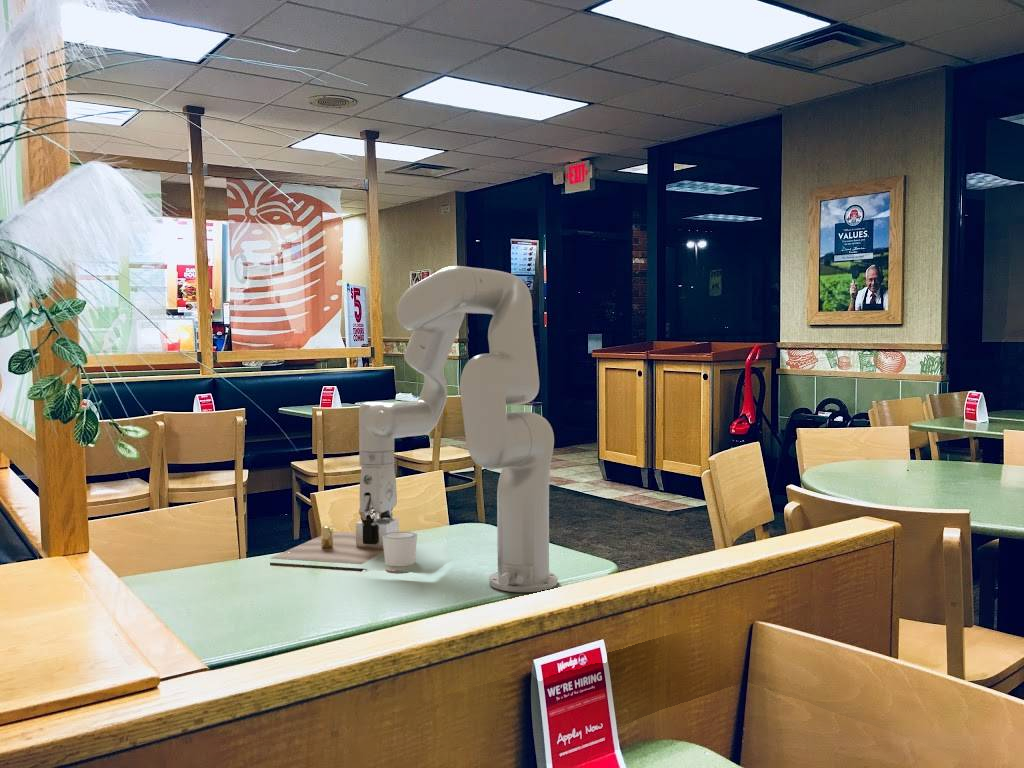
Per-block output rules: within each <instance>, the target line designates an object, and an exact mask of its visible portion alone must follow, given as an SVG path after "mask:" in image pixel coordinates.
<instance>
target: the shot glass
mask: <svg viewBox="0 0 1024 768" xmlns="http://www.w3.org/2000/svg"><path fill="white" fill-rule="evenodd" d="M382 538H383V547H384V551H383V556H384V564H385V565H387V566H390V567H405V566H406V567H407V566H411V565H414V564H415V563H416V552H417V540H418V534H417V533H416V532H412V531H399V532H391V533H387V534H384V535H383V536H382ZM385 572H386V573H389V574H395V575H397V574H398V575H400V574H401V575H402V574H409V573H410V571H409V570H408V571H404V570H391V569H389V570H388V569H385Z"/></svg>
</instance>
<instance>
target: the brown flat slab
mask: <svg viewBox="0 0 1024 768" xmlns="http://www.w3.org/2000/svg"><path fill="white" fill-rule="evenodd" d="M288 552H290V553H288ZM381 553H384V548H376V547H359V546H356V532H349V531H348V532H346V531H345V532H344V531H333V548H330V549H322V548H321V535H319V536H318V537H315V538H313V539H310V540H307V541H306V542H303V543H301V544H299V545H297V546H294V547H292V548H289V549H288V550H285V551H283V552H281V553H279V554H275V555H274V556H271V557H270V559H273V560H274V559H276V560H288V561H289V560H290V561H305V562H307V561H308V562H320V563H321V562H323V563H335V564H336V563H338V564H353V565H354V564H356V565H362V564H364V563H365V562H368V561H369V560H371V559H372V558H374V557H376V556H378V555H380V554H381ZM269 566H273V567H289V568H301V569H302V568H305V569H317V570H331V571H332V570H333V571H335V570H336V571H348V572H349V571H350V572H363V571H365V568H361V567H360V568H358V567H346V566H345V567H344V566H343V567H342V566H329V565H328V566H327V565H316V564H315V565H312V564H297V563H285V562H284V563H281V562H269Z"/></svg>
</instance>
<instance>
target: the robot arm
mask: <svg viewBox="0 0 1024 768" xmlns="http://www.w3.org/2000/svg"><path fill="white" fill-rule="evenodd" d="M466 314H483V315H484V314H486V315H492V317H491V319H490V321H489V326H488V331H487V340H488V349H489V353H480V354H477V355H475V356H473V357H472V358H470V359H469V360H468V361H467V362H466V363H465V365H464V367H463V370H462V373H461V375H460V383H459V391H460V392H459V393H460V401H461V410H462V411H461V412H462V420H463V426H464V427H463V428H464V435H465V436H464V437H465V442H466V443H465V444H466V448H467V451H468V455H469V456H470V458H471V459H472V460H473V462H474V463H475V464H476V465H478V466H479V467H480V468H482V469H487V470H496V469H501V471H500V475H499V478H498V482H497V493H496V495H497V499H496V502H497V503H496V507H497V509H496V510H497V511H496V512H497V513H496V518H497V520H496V521H497V522H496V523H497V528H496V529H497V543H496V544H497V572H494V573H492V574H491V575H490V576H489V578H488V579H489V581H488V582H489V585H490V586H491V587H492V588H494V589H496V590H499V591H504V592H510V593H538V592H543V591H542V590H544V591H547V589H548V590H550V589H553V588H555V587H556V586H557V584H558V576H557V575H556V574H555V573H554V572H552V571H550V474H551V466H552V465H551V464H552V459H553V453H554V446H555V435H554V431H553V427H552V426H551V423H549V421H548V420H547V419H546V418H545V417H543V416H542V415H541V414H538V413H536V412H529V411H517V412H507V407H508V406H510V407H511V406H519V405H525V404H528V403H530V402H533V400H535V398H536V397H537V395H538V394H539V391H540V375H539V366H538V360H537V359H538V358H537V357H538V356H537V349H536V341H535V336H534V327H533V300H532V295H531V292H530V289H529V287H528V285H527V284H526V283H525V281H524V280H523V279H521V278H520V277H519V276H517V275H514V274H512V273H509V272H507V271H506V272H505V271H501V270H496V269H489V268H481V267H471V266H463V265H452V266H451V265H450V266H446V267H444V268H441V269H440V270H438V271H436V272H434V273H432V274H431V275H429V276H427V277H425V278H424V279H421V280H420V281H418V282H416V283H414V284H413V285H411V286H410V287H409V288H407V289H406V290H405V291H404V292H403V294H402V295H401V296H400V298H399V300H398V302H397V305H396V318H397V321H398V324H399V325H400V326H401V327H403V329H404V330H405V329H406V330H407V331H412V332H411V335H410V338H409V339H408V340H409V341H407V345H406V347H405V350H404V353H403V358H404V361H405V363H407V365H408V366H409V367H411V368H412V369H413V370H415V371H417V372H418V373H419V374H422V375H423V379H424V380H423V386H422V388H421V389H422V390H421V391H420V394H419V397H418V399H417V400H409V401H394V402H388V401H367V402H363V403H361V404H360V406H359V409H358V420H359V421H358V429H359V430H358V435H359V436H358V442H359V443H358V448H359V454H358V455H359V458H358V459H359V467H361V468H360V476H359V477H360V478H359V479H360V480H359V510H358V513H359V516H360V521H362V526H363V544H373V545H376V544H377V543H378V527H377V525H376V520H377V517H380V518H393V516H394V515H393V509H394V508H395V507H396V506H397V504H398V496H397V494H398V493H397V477H396V470H395V439H400V438H401V439H402V438H407V437H418V436H425V435H427V434H429V433H431V432H432V431H433V430H434V429H435V427H436V426H437V424H438V422H439V420H440V418H441V416H442V414H443V411H444V409H445V407H446V404H447V400H448V385H447V384H448V383H447V379H446V375H445V372H444V367H445V365H446V362H447V359H448V357H449V355H450V353H451V349H452V347H453V345H454V343H455V340H456V338H457V335H458V333H459V331H460V328H461V326H462V324H463V322H464V319H465V315H466ZM371 517H372V518H371Z"/></svg>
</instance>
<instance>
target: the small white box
mask: <svg viewBox="0 0 1024 768" xmlns="http://www.w3.org/2000/svg"><path fill="white" fill-rule="evenodd" d="M372 517H373V516H371V518H372ZM376 525H377V527H378V543H377V544H376V545H373V544H363V526H362V520H360V521H357V522H355V533H356V546H359V547H376V548H384V547H383V538H382V536H383V535H384V534H387V533H391V532H400V520H399V518H397V517H396V518H394V517H392V518H380V517H379V516H377V520H376Z"/></svg>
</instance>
